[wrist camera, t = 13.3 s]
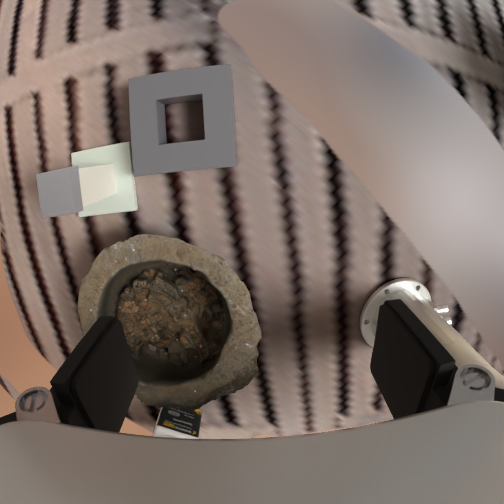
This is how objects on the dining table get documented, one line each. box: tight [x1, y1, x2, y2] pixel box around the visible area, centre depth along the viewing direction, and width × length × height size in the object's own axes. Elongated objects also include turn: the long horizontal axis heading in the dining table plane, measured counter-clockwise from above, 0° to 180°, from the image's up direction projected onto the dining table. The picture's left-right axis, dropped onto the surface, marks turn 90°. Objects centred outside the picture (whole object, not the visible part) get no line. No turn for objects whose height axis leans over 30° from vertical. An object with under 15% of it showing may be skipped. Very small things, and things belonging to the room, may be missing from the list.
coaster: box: [71, 142, 138, 217], centre depth 37 cm, size 9×9×1 cm
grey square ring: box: [129, 64, 238, 177], centre depth 34 cm, size 12×12×4 cm
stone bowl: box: [78, 234, 261, 411], centre depth 40 cm, size 25×25×9 cm
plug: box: [36, 164, 117, 218], centre depth 31 cm, size 5×5×12 cm
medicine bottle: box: [153, 406, 202, 439], centre depth 45 cm, size 7×7×12 cm
